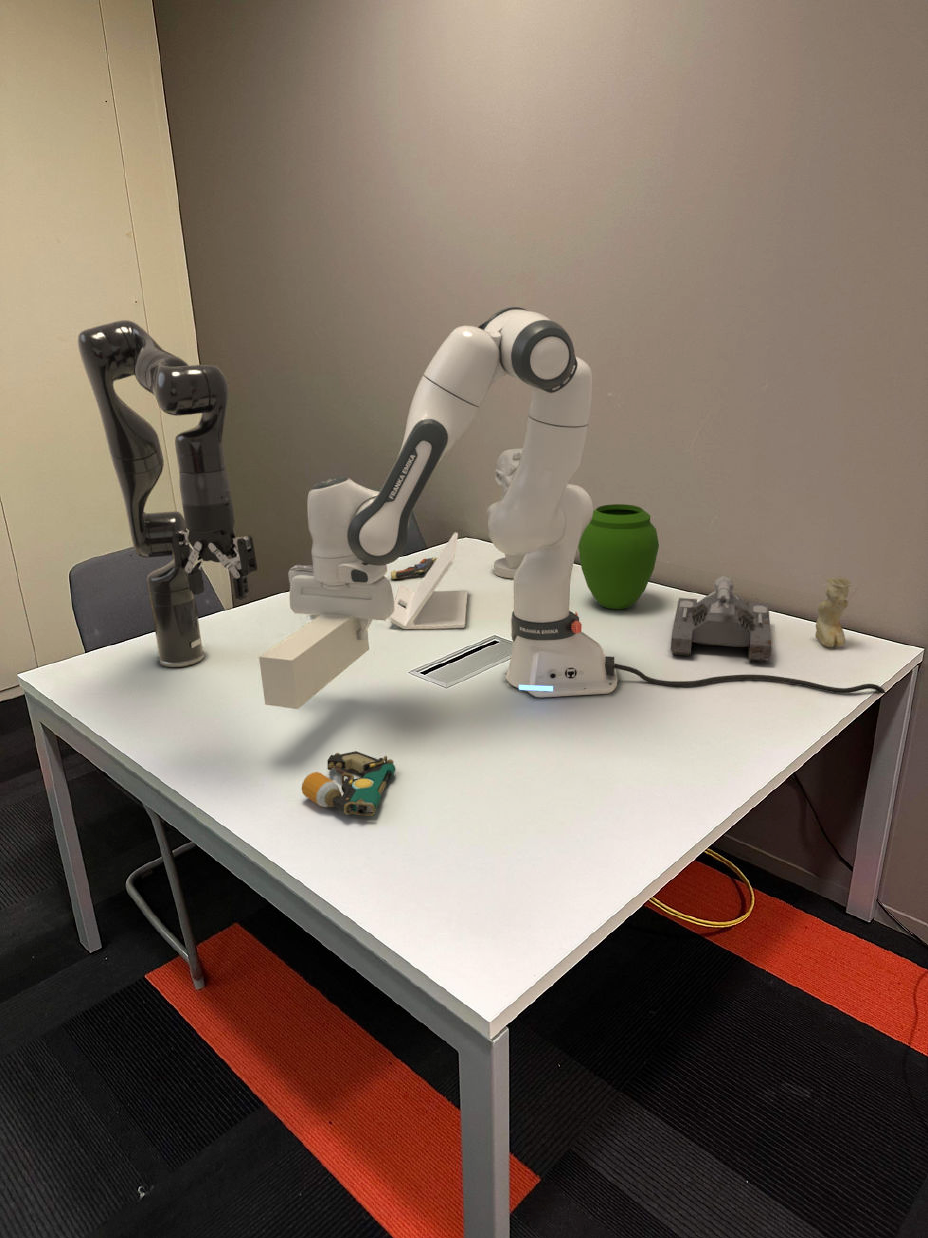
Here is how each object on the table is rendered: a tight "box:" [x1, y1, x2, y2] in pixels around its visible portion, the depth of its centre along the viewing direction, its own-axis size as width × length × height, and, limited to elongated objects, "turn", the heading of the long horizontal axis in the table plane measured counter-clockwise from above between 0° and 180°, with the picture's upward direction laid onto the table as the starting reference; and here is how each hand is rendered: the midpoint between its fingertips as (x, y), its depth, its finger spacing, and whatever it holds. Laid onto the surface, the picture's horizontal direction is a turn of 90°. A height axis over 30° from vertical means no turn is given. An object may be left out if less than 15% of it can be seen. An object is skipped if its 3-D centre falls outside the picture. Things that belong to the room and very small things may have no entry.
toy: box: [670, 575, 773, 662], centre depth 188 cm, size 25×20×15 cm
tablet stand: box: [388, 531, 468, 630], centre depth 211 cm, size 18×25×17 cm
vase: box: [578, 503, 660, 610], centre depth 210 cm, size 20×20×24 cm
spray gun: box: [301, 751, 396, 817], centre depth 136 cm, size 4×17×15 cm
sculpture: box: [814, 576, 852, 648], centre depth 185 cm, size 6×7×15 cm
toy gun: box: [390, 557, 438, 580], centre depth 245 cm, size 3×19×10 cm
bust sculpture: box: [485, 447, 525, 579], centre depth 231 cm, size 16×24×35 cm
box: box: [258, 614, 370, 710], centre depth 152 cm, size 27×6×9 cm, turn 160°
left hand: (220, 595), depth 139 cm, fingers open, 8 cm apart
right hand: (344, 637), depth 161 cm, fingers closed on box, 6 cm apart
